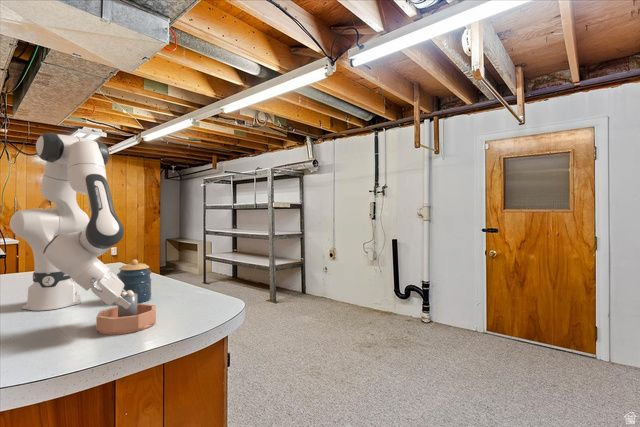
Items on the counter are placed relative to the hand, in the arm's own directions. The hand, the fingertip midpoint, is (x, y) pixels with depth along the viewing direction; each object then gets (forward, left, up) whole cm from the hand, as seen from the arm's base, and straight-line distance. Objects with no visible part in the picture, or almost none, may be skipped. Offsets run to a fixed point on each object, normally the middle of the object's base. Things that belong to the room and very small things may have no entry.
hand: (130, 303), depth 109 cm
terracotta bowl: (0, -1, -7) cm, 7 cm away
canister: (-36, -1, -7) cm, 37 cm away
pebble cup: (0, -1, -6) cm, 6 cm away
